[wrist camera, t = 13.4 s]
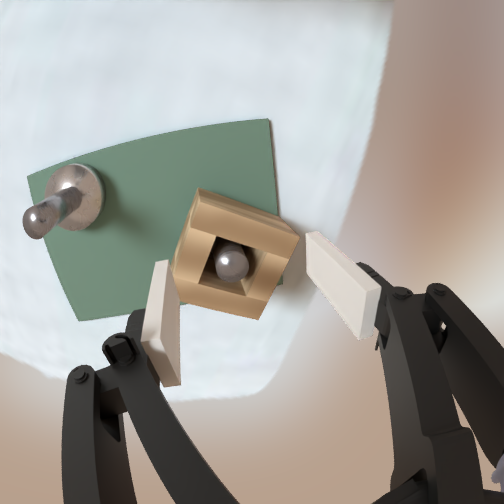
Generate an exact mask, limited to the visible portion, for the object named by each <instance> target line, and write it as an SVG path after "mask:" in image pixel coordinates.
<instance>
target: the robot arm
mask: <svg viewBox="0 0 504 504" xmlns="http://www.w3.org/2000/svg"><path fill="white" fill-rule="evenodd" d="M306 265H307V274H308V276H309V277H310V278H311V280H312V281H313V282H314V283H315V285H316V286H317V287H318V288H319V290H320V291H321V292H322V293H323V295H324V296H325V297H326V299H327V300H328V301H329V302H330V304H331V305H332V306H333V308H334V309H335V310H336V312H337V313H338V314H339V315H340V317H341V318H342V319H343V321H344V322H345V323H346V325H347V326H348V327H349V328H350V330H351V331H352V332H353V334H354V335H355V336H356V338H357V339H358V340H359V341H360V340H362V339H365V338H368V337H370V336H372V335H373V330H374V326H375V327H376V328H377V329H378V330H379V334H378V338H377V342H376V347H375V350H377V349H378V346H379V347H380V352H381V357H382V363H383V369H384V375H385V381H386V387H387V394H388V400H389V408H390V416H391V426H392V436H393V449H394V470H393V473H392V476H391V484H390V492H388V493H386V494H385V495H383V496H382V497H381V498H379V499H378V500H376V501H375V502H373V503H372V504H504V348H503V347H502V346H501V344H500V343H499V342H498V341H497V340H496V338H495V337H494V336H493V335H492V334H491V333H490V331H489V330H488V329H487V328H486V327H485V326H484V325H483V323H482V322H481V321H480V320H479V319H478V318H477V317H476V316H475V315H474V313H472V311H471V310H470V309H469V308H468V307H467V306H466V305H465V304H464V303H463V302H462V301H461V300H460V299H459V298H458V297H457V296H456V295H455V294H454V292H453V291H451V290H450V289H449V288H448V287H447V286H445V285H443V284H440V283H432V284H430V285H429V286H428V287H427V290H426V293H425V294H413V293H412V291H411V290H409V289H407V288H404V287H393V286H392V285H391V284H390V283H389V282H388V281H386V280H385V279H384V278H383V277H382V276H380V275H379V274H378V273H377V272H375V270H373V269H372V268H371V267H370V266H369V265H366V264H364V263H361V262H359V263H354V262H353V261H352V260H351V259H350V258H349V257H347V256H346V255H345V254H344V253H343V252H342V251H340V250H339V249H338V248H337V247H336V246H335V245H333V244H332V243H331V242H330V241H329V240H327V239H326V238H325V237H324V236H323V235H321V234H320V233H319V232H318V231H315V232H309V233H306ZM443 322H444V324H445V325H446V328H445V330H443V329H442V327H441V325H442V323H443ZM125 331H126V332H125V333H117V334H114V335H112V336H110V337H109V338H108V339H107V340H106V341H105V342H104V344H103V346H102V351H103V353H104V355H105V356H106V358H107V360H108V361H109V363H110V366H108V367H106V368H103V369H100V370H97V371H94V369H93V368H92V367H91V366H89V365H81V366H78V367H76V368H75V369H73V370H72V371H71V372H70V374H69V375H68V378H67V385H66V393H65V402H64V413H63V426H62V487H63V499H64V504H137V501H136V496H135V492H134V487H133V482H132V477H131V472H130V466H129V460H128V454H127V447H126V440H125V431H124V422H123V413H124V412H127V411H128V413H129V415H130V418H131V420H132V422H133V425H134V427H135V429H136V432H137V434H138V436H139V438H140V440H141V442H142V444H143V446H144V448H145V450H146V452H147V454H148V456H149V458H150V460H151V462H152V464H153V466H154V468H155V470H156V472H157V473H158V475H159V477H160V479H161V480H162V482H163V484H164V486H165V487H166V489H167V491H168V492H169V494H170V495H171V497H172V499H173V500H174V502H175V503H176V504H240V503H239V502H238V501H237V500H236V499H235V498H234V497H233V495H232V494H231V493H230V492H229V490H228V489H227V488H226V487H225V486H224V484H223V483H222V482H221V481H220V479H219V478H218V477H217V475H216V474H215V473H214V472H213V470H212V469H211V468H210V466H209V465H208V463H207V462H206V461H205V459H204V458H203V457H202V455H201V454H200V452H199V451H198V449H197V448H196V447H195V445H194V444H193V442H192V441H191V439H190V438H189V436H188V435H187V433H186V432H185V430H184V429H183V427H182V425H181V424H180V422H179V421H178V419H177V417H176V416H175V414H174V412H173V411H172V409H171V407H170V406H169V404H168V402H167V400H166V399H165V397H164V395H163V393H162V392H161V390H160V381H161V383H162V385H163V387H171V386H178V385H181V375H180V299H179V295H178V292H177V288H176V285H175V281H174V278H173V274H172V271H171V267H170V263H169V259H168V260H162V261H157V262H155V267H154V271H153V276H152V281H151V286H150V291H149V296H148V301H147V306H146V308H144V309H138V310H134V311H133V312H132V313H131V315H130V316H129V318H128V322H127V326H126V330H125ZM452 394H453V396H454V397H455V399H456V401H457V403H458V404H459V406H460V408H461V410H462V411H463V413H464V415H465V417H466V419H467V421H468V423H469V425H470V426H471V428H472V430H473V432H474V434H475V436H476V438H477V440H478V442H479V444H480V446H481V448H482V450H483V452H484V454H485V455H486V457H487V458H488V460H489V461H490V463H491V464H492V465H493V466H494V467H495V468H496V470H495V471H494V472H493V474H492V477H491V479H492V482H494V483H499V482H500V484H501V492H498V491H491V490H485V489H483V484H482V477H481V470H480V464H479V459H478V453H477V448H476V443H475V439H474V435H473V433H472V430H471V429H470V428H467V427H462V426H461V424H460V422H459V418H458V414H457V410H456V406H455V403H454V399H453V396H452Z"/></svg>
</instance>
